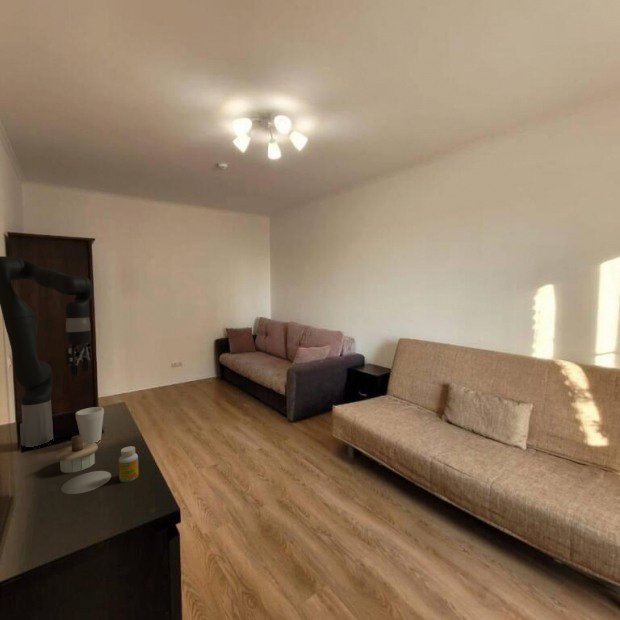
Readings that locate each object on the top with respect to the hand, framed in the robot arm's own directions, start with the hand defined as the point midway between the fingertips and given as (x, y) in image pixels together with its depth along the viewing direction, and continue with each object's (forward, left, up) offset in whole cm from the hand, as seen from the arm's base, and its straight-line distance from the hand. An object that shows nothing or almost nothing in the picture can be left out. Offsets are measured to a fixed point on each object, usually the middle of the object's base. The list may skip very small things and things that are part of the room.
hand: (80, 373), depth 126 cm
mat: (+15, -22, -30) cm, 40 cm away
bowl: (+5, -11, -30) cm, 32 cm away
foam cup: (-3, +9, -30) cm, 32 cm away
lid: (+5, -11, -25) cm, 28 cm away
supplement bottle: (+27, -20, -30) cm, 45 cm away
